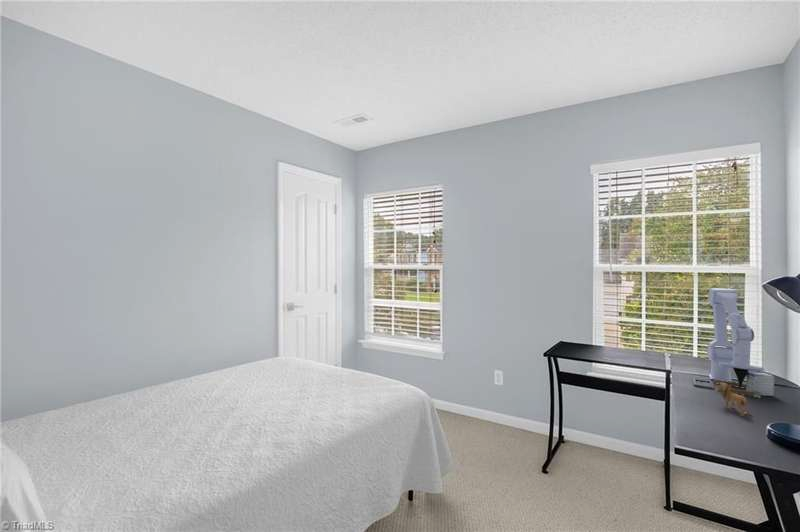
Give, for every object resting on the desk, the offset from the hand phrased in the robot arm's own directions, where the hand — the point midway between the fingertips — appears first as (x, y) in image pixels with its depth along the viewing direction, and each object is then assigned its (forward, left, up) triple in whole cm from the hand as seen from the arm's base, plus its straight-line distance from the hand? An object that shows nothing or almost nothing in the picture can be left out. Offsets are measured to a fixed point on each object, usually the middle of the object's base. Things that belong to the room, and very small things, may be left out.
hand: (740, 385), depth 170 cm
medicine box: (0, +6, -2) cm, 7 cm away
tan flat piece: (0, -1, -2) cm, 3 cm away
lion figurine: (+33, -5, -3) cm, 34 cm away
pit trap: (0, -13, -2) cm, 13 cm away
